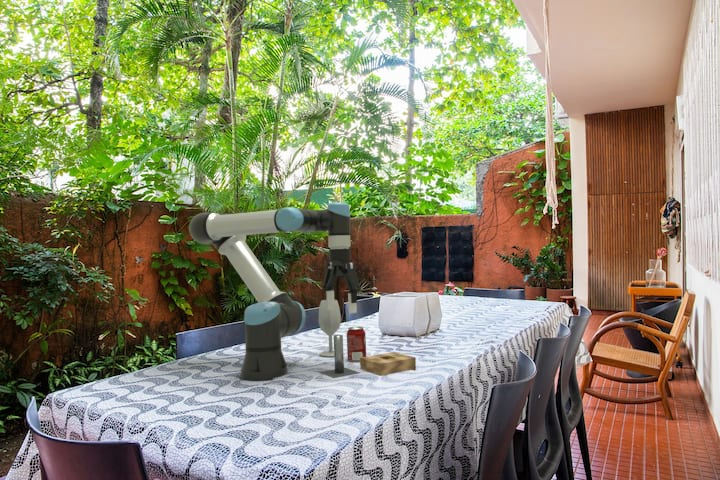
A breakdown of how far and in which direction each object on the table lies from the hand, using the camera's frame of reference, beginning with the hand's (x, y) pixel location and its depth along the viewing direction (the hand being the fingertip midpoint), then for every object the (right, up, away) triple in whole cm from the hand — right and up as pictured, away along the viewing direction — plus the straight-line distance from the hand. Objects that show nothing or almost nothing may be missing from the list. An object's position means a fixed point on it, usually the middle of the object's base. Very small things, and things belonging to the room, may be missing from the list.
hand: (341, 311), depth 170 cm
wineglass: (-5, -20, +24) cm, 32 cm away
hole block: (+16, -19, -3) cm, 25 cm away
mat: (0, -19, -6) cm, 20 cm away
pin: (0, -19, -6) cm, 20 cm away
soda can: (+5, -20, +12) cm, 24 cm away
